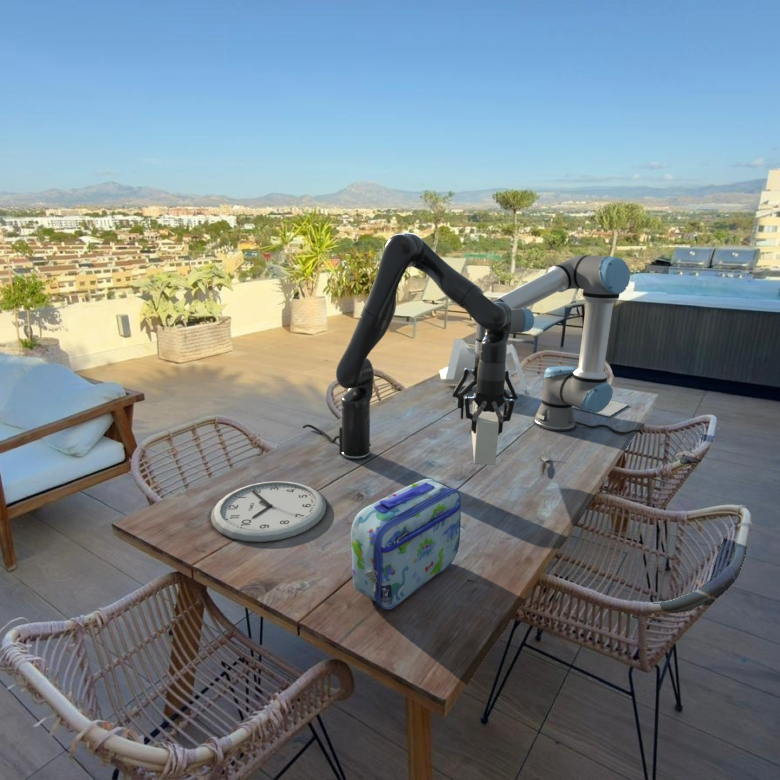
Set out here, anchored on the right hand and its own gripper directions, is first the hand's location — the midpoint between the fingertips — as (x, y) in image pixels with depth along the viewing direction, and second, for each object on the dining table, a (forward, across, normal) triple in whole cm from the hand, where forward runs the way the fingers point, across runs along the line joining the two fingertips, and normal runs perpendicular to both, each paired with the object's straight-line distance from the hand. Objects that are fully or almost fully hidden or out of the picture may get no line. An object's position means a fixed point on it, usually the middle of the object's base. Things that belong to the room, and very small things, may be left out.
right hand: (483, 418), depth 169 cm
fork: (+14, +20, -2) cm, 25 cm away
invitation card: (+15, +55, +62) cm, 84 cm away
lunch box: (+14, -19, -66) cm, 70 cm away
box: (+5, 0, -10) cm, 12 cm away
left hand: (-3, 0, -21) cm, 21 cm away
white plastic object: (+15, +3, +74) cm, 76 cm away
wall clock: (+14, -58, -41) cm, 72 cm away
